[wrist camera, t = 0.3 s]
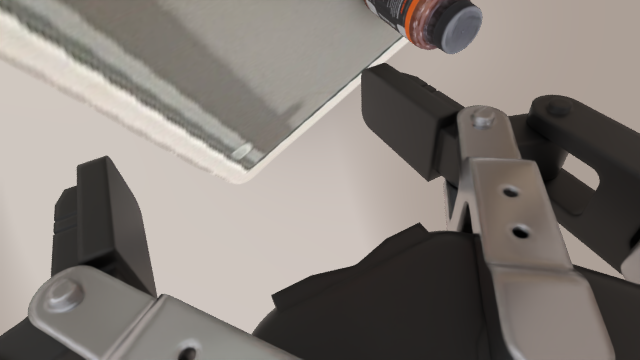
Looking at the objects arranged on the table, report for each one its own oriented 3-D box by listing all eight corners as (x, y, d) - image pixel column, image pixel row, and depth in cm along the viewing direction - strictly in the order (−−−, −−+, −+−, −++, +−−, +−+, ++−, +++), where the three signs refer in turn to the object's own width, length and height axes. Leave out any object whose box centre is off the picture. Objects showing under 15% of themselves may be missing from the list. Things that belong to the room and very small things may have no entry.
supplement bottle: (359, 18, 38) (426, 76, 31) (358, -45, 33) (436, 8, 27) (408, 0, 39) (483, 51, 33) (414, -63, 34) (502, -18, 28)
